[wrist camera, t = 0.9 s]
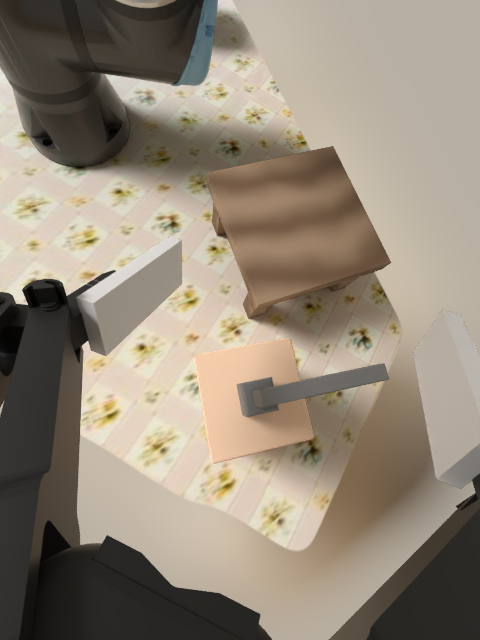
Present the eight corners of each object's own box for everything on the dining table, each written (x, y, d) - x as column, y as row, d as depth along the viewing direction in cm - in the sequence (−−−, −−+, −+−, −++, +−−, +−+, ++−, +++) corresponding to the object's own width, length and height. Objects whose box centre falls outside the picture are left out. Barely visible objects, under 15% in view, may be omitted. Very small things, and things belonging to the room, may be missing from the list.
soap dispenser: (207, 436, 38) (215, 487, 17) (196, 370, 40) (191, 343, 19) (298, 414, 40) (407, 436, 19) (284, 353, 42) (369, 311, 21)
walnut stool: (205, 219, 46) (207, 172, 36) (307, 194, 49) (332, 146, 40) (245, 325, 42) (258, 304, 33) (351, 290, 46) (391, 262, 36)
